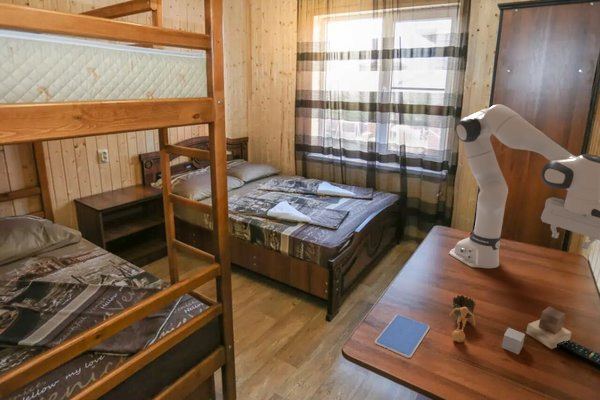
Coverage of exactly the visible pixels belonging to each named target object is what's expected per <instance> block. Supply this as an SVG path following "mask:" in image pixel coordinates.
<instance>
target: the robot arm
mask: <svg viewBox="0 0 600 400" xmlns="http://www.w3.org/2000/svg"><path fill="white" fill-rule="evenodd" d="M455 133H456V135H457V137H458V139H460V141H462V142H463V148H464V152H465V156H466V159H467V162H468V164H469V168H470V170H471V174H472V175H473V177H474V178H475V181H476V183H477V185H478V187H479V188H478V189H479V192H478V196H477V203H476V216H475V225H474V228H473V230H471V231H470V232H468V233H467V235H468V236H467V237H466V238H464V239H461V240H459V241H458V242H457V243H456V244H455V246H454V248H452V249H450V251H449V253H448V255H449V254H450V255H449V256H451V257H453V258H454V259H456V260H458V261H460V262H462V263H463V264H465V265H467V266H469V267H470V268H479V269H480V268H482V269H496V268H498V267H499V266H500V261H499V260H500V258H499V250H500V245H501V238H502V236H501V234H502V227H503V223H504V215H505V209H506V203H507V198H508V194H509V186H508V184H507V182H506V179H505V177H504V175H503V172H502V170H501V168H500V165H499V162H498V160H497V156H496V153H495V150H494V147H493V144H492V142H491V136H492V135H493V136H494V137H495V138H496V139H497V140H498V141H499V142H500V143H502V145H504V146H506V147H508V148H510V149H514V150H523V151H524V150H525V151H529V152H531V151H532V152H534V153H538V154H540V155H541V156H542V157H544V158H545V159H546V160H548V162H547V163H545V164H544V165H543V167H542V168H541V172H540V178H541V180H542V182H543V184H545V185H546V186H547V187H548V188H553V189H558V190H559V189H560V190H566V191H567V192H566V197H565V199H562V198H557V197H553V196H552V197H548V198H547V199H546V200H545V204H544V209H543V211H542V213H541V216H540V219H541V222H542V223H545V224H548V225H550V231H551V232H552V234H551V238H554V239H559V235H560V232H558V231H557V228H560V229H564V230H567V231H570V232H573V233H575V234H579V235H582V236H585V237H588V242H587V241H584V242H583V243H582V245H581V248H582V249H585V250H588V249H590V247H591V244H593V243H594V242H596V241H600V156H598V155H595V154H592V153H591V154H589V153H582V154H581V155H577V154H575V153H573V152H571V151H570V150H569V149H568V148H566V147H565V146H563V145H561V144H560V143H559V142H557V141H556V140H554V139H553V138H552V137H550V136H549V135H547V134H546V133H544V132H543V131H541V130H539V129H538V128H536V127H535V126H534V125H532V123H530V122H529V121H527V120H526V119H525V118H523V117H522V116H521V115H520V114H519V113H518V112H516V111H515V110H513V109H512V108H510V107H508V106H506V105H504V104H500V103H497V104H493V105H492V106H490V107H486V108H483V109H480V110H478V111H477V112H474V113H472V114H469V115H468V116H464V117H462V118H461V119H460V120H459V121H457V123H456V126H455Z"/></svg>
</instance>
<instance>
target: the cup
mask: <svg viewBox="0 0 600 400" xmlns="http://www.w3.org/2000/svg"><path fill="white" fill-rule="evenodd" d="M476 304H477V303H476V301H475V300H474V299H472V298H471V297H468V296H466V297H465V296H464V295H457V297H455V296H454V297H453V299H452V311H453V310H454V309H455V308H462V307H467V308H468V310H469V311H470V312H471V313H472V314H473V315H474V311H475V307H476ZM453 314H454V315H455V318H456V321H457V320H458V316H460V317H461V312H460V310H455V311H454V312H453ZM471 317H473V316H472V315H470V314H469V313H467V315H466V316H465V318H467V320H468V319H470V318H471ZM462 321H463V320H462V319H461V322H460V323H462Z"/></svg>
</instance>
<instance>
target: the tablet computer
mask: <svg viewBox="0 0 600 400" xmlns="http://www.w3.org/2000/svg"><path fill="white" fill-rule="evenodd" d="M430 328H431V327H430V325H429V324H426V323H423V322H421V321H417V320H414V319H412V318H409V317H407V316H404V315H401V314H396V315H395V316H394V318H392V320H391V321H390V322H389V324H388V325H387V326H386V327H385V328H384V329H383V331H382V332H381V333H380V334H379V336H378V337H376V339H375V341H374V344H375V345H376V344H377V346H379V347H381V346H382V347H381V348H383V347H384V349H386V348H387V349H386V350H388V351H390V350H391V352H393V353H396V354H397V355H399V356H402V357H404V358H407V359H411V358H412V357H413V355H414V353H416V351H417V349H418V347H419V346H420V345H421V343H422V341H423V340H424V339H425V336H426V335H427V333H428V332H429V330H430Z"/></svg>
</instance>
